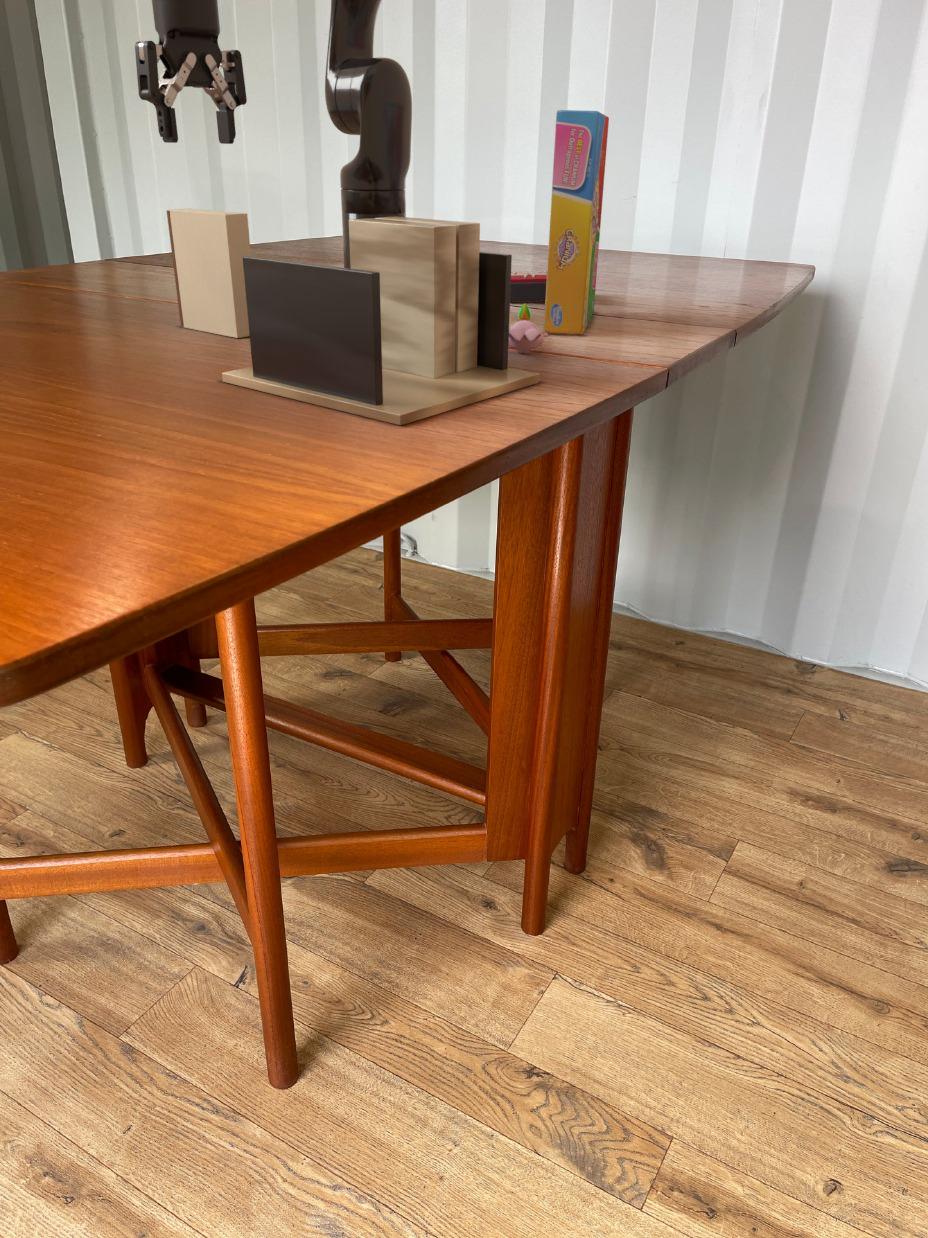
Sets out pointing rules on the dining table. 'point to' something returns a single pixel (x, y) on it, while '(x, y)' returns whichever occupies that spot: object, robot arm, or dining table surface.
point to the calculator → (528, 286)
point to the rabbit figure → (525, 333)
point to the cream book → (210, 269)
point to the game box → (575, 219)
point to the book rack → (384, 323)
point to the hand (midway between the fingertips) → (199, 142)
